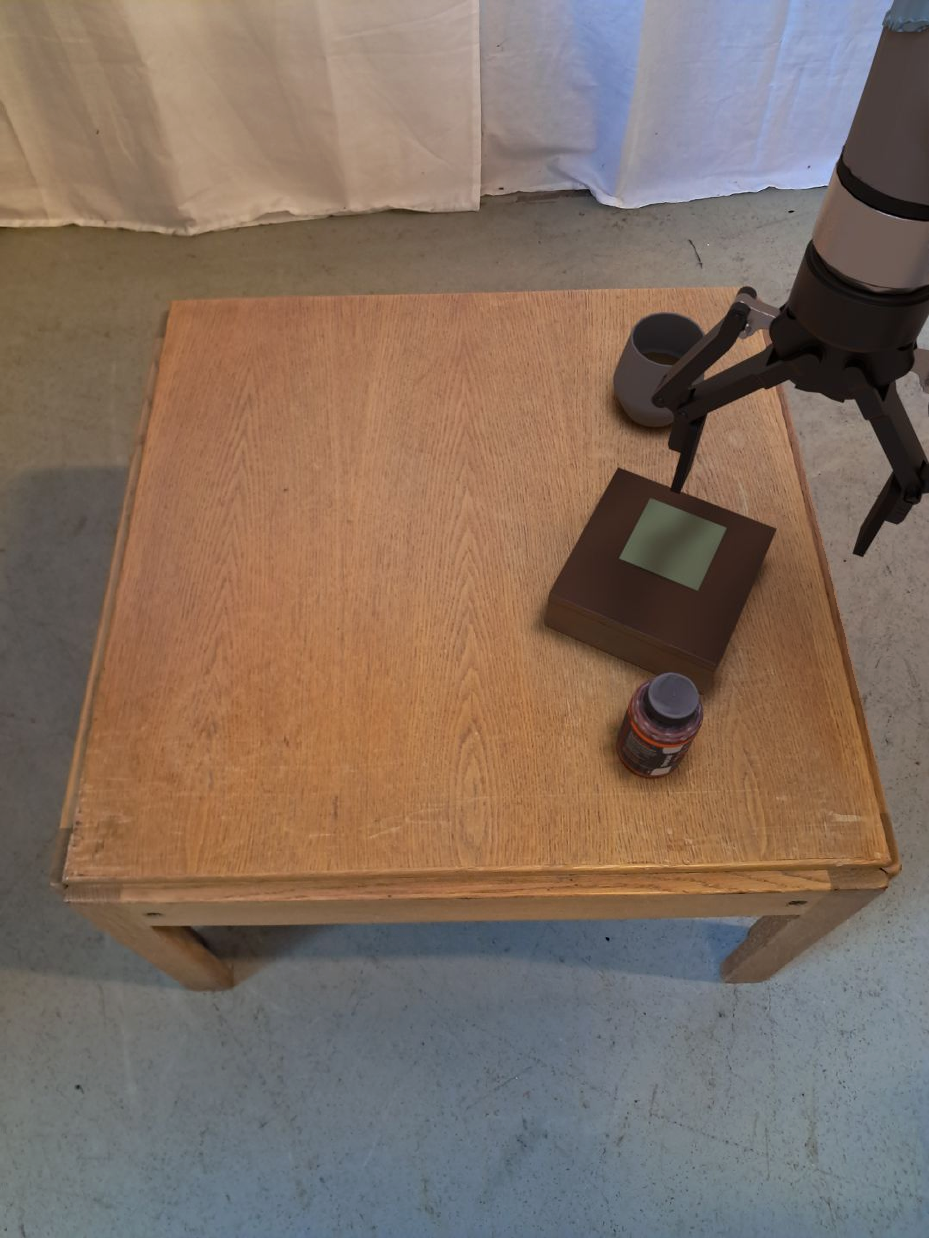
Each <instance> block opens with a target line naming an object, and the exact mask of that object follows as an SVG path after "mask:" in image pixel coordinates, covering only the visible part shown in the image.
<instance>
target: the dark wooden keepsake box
mask: <svg viewBox="0 0 929 1238" xmlns="http://www.w3.org/2000/svg"><path fill="white" fill-rule="evenodd" d="M670 489H671V486H668V485H666V484H663V483H661V482H658V481H655V480H652V479H651V478H647V477H645V476H643V475H640V474H637V473H635V472H632V471H630V470H627V469H624V468H622V467H620V466H618V467H617V468H616V470H615V472H614V473H613V475H612V477H611V479H610V480H609V482H608V484H607V486H606V488H605V490H604V492H603V494H602V495H601V497H600V499H599V500H598V502H597V504H596V506H595V508H594V510H593V512H592V514H591V515H590V517H589V519H588V521H587V523H586V525H585V526H584V528H583V530H582V532H581V534H580V535H579V538H577V541H576V542H575V544H574V546H573V548H572V550H571V551H570V554H569V556H568V557H567V559H566V561H565V563H564V565H563V567H562V568H561V570H560V571H559V574H558V576H557V577H556V579H555V581H554V583H553V584H552V586H551V589H550V590H549V592H548V596H547V604H546V611H545V619H544V626H545V627H548V628H550V629H553V630H555V631H557V632H559V633H562V634H564V635H566V636H568V637H571V638H573V639H576V640H577V641H580V642H582V643H584V644H587V645H589V646H591V647H594V648H596V649H598V650H601V651H603V652H604V653H607V654H609V655H611V656H614V657H615V658H619V659H621V660H623V661H625V662H628V663H630V664H632V665H634V666H637V667H639V668H642V669H643V670H646V671H648V672H650V673H652V674H655V675H657V676H659V675H661V674H664V673H678V674H681V675H683V676H685V677H687V678H689V679H690V680H691V681H692V682H693V683H694V685H695V686H696V688H697V690H698V693H699V695H705V693H706V691H707V689H708V687H709V685H710V683H711V682H712V680H713V678H714V676H715V674H716V672H717V670H718V668H719V667H720V665H721V662H722V659H723V657H724V655H725V652H726V650H727V648H728V645H729V643H730V641H731V638H732V636H733V633H734V632H735V629H736V627H737V624H738V621H739V620H740V617H741V615H742V612H743V610H744V607H745V606H746V603H747V601H748V598H749V596H750V594H751V592H752V589H753V587H754V585H755V582H756V580H757V577H758V575H759V573H760V570H761V568H762V565H763V563H764V561H765V558H766V556H767V554H768V551H769V549H770V547H771V544H772V542H773V540H774V537H775V535H776V532H777V530H778V528H776V527H774V526H771V525H769V524H766V523H763V522H761V521H758V520H756V519H754V518H751V517H749V516H745V515H743V514H741V513H738V512H735V511H732V510H729V509H727V508H725V507H722V506H720V505H717V504H714V503H712V502H710V501H707V500H705V499H701V498H699V497H696V496H694V495H691V494H689V493H686V492H684V491H681V492H680V494H677V493H674V492H671V491H670Z"/></svg>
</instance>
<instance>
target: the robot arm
mask: <svg viewBox="0 0 929 1238" xmlns="http://www.w3.org/2000/svg"><path fill="white" fill-rule="evenodd" d="M881 26H882V30H881V33H880V36H879V39H878V43H877V45H876V49H875V53H874V56H873V59H872V62H871V65H870V69H869V72H868V75H867V78H866V81H865V83H864V87H863V90H862V92H861V96H860V98H859V101H858V104H857V108H856V110H855V113H854V117H853V119H852V123H851V126H850V128H849V131H848V134H847V137H846V140H845V143H844V144H843V145H842V147H841V152H840V155H839V158H838V159H837V161H836V162H835V164H834V167H833V170H832V172H831V176H830V178H829V182H828V184H827V187H826V190H825V193H824V196H823V199H822V202H821V204H820V207H819V210H818V213H817V216H816V218H815V220H814V221H815V222H814V224H813V228H812V232H811V239H810V240H809V241H808V243H807V245H806V247H805V250H804V253H803V256H802V258H801V262H800V263H799V267H798V270H797V273H796V276H795V279H794V281H793V284H792V288H791V290H790V293H789V296H788V298H787V300H786V302H785V303H784V304H782V305H781V306H779V307H777V306H776V307H775V306H773V305H771V304H768V303H766V302H763V301H760V300H758V299H757V298H758V294H757V291H756V289H755V288H753V287H752V286H748V285H746V286H742V287H740V288H739V289H738V290H737V293H736V294H735V296H734V299H733V300H732V302H731V304H730V307H729V308H728V310H727V312H726V315H725V316H723V317H722V319H720V320H719V321H718V322H717V324H715V325H714V326H713V327H712V328H711V329H710V330H709V331H708V332H707V333H705V336H704V337H703V338H702V339H701V340H700V341H699V342H698V343H696V344H695V345H694V346H693V347H692V348H691V349H690V350H689V351H688V352H687V353H686V354H685V355H684V356H683V357H682V358H681V359H680V360H679V361H678V362H677V363H676V364H674V365H673V366H672V367H671V368H670V369H669V370H668V371H667V372H666V373H665V374H664V375H663V377H662V379H661V381H660V383H659V384H658V386H657V388H656V390H655V392H654V394H653V396H652V398H651V402H652V404H653V405H654V406H655V407H657V408H665V407H666V408H668V409H669V410H670V411H671V412H672V413H673V415H674V421H673V422H672V426H671V429H670V432H669V437H668V440H667V448H668V450H670V451H672V452H676V453H678V454H679V457H678V461H677V465H676V468H675V471H674V475H673V479H672V482H671V485H670V487H671V489H670V491H671V492H674V493H677V494H680V492H682V490H683V488H684V485H685V484H686V481H687V479H688V477H689V475H690V472H691V471H692V467H693V464H694V461H695V460H694V459H695V458H696V453H697V451H698V447H699V445H700V441H701V438H702V434H703V431H704V428H705V424H706V422H707V418H708V415H709V413H711V412H714V411H716V410H718V409H720V408H723V407H724V406H727V405H729V404H731V403H733V402H735V401H738V400H740V399H742V398H744V397H746V396H749V395H751V394H753V393H755V392H757V391H759V390H762V389H764V390H766V391H767V390H771V389H772V388H774V387H777V386H779V385H781V384H783V383H785V382H788V381H789V382H791V383H792V384H793V385H794V389H796V390H799V391H802V392H805V393H814V394H820V395H822V396H824V397H825V398H827V399H830V400H832V401H835V402H837V403H840V404H844V403H845V401H852V400H854V401H855V403H856V405H857V407H858V409H859V412H860V413H861V415H862V418H863V419H864V420H865V421H868V422H869V423H870V425H871V427H872V430H873V432H874V434H875V436H876V438H877V440H878V442H879V445H880V446H881V448H882V450H883V453H884V454H885V457H886V459H887V461H888V463H889V466H890V467H891V469H892V471H891V473H890V475H889V477H888V478H887V480H886V481H885V484H884V485H883V487H882V489H881V490H880V492H879V494H878V495H877V497H876V499H875V501H874V503H873V504H872V506H871V508H870V509H869V511H868V513H867V515H866V517H865V518H864V519H863V522H862V524H861V526H860V528H859V531H858V534H857V538H856V541H855V544H854V547H853V550H852V553H851V554H852V555H853V556H854V555H855V556H857V557H861V558H864V556H865V555H866V553H867V552H868V550H869V548H870V547H871V545H872V543H873V542H874V539H875V538H876V537H877V535H878V534H879V532H880V530H881V528H882V526H883V525H884V523H885V522H887V523H891V524H893V525H896V526H898V525H901V523H903V522H904V521H905V520H906V518H907V516H908V515H909V513H910V511H911V510H912V508H913V507H914V506H916V505H918V504H920V503H921V501H922V498H923V495H925V494H929V460H928V457H927V455H926V452H925V451H924V449H923V446H922V444H921V442H920V440H919V437H918V435H917V433H916V431H915V428H914V426H913V424H912V421H911V420H910V418H909V415H908V413H907V410H906V407H905V406H904V404H903V401H902V399H901V397H900V395H899V393H898V391H897V390H898V389H897V380H900V379H902V378H903V377H905V376H906V375H908V374H909V373H910V372H912V373H914V374H916V375H917V376H918V378H919V379H918V381H919V383H918V384H919V386H920V387H921V388H922V391H923V393H924V394H926V395H927V394H929V349H925V348H919V346H918V338H919V335H920V334H921V332H922V330H923V328H924V326H925V324H926V321H928V318H929V0H893V1H892V4H891V7H890V8H889V9H888V10H887V11H886V12H885V14H884V17H883V20H882V23H881ZM760 330H768V337H769V339H770V341H771V343H769V344H768V345H767V346H765V348H764V349H763V350H761V351H759V352H758V353H756V354H754V355H752V356H749V357H748V358H745V359H744V360H742V361H739V362H737V363H736V364H734V365H732V366H729V367H728V368H726V369H724V370H722V371H720V372H718V373H716V374H714V375H712V376H709V377H707V378H706V379H704V381H702V382H700V383H698V384H696V385H692V383H693V382H694V381H695V380H696V379H698V378H699V377H700V376H701V375H702V374H703V373H704V372H705V373H706V372H707V370H709V369H710V368H711V367H712V366H713V365H715V363H716V362H718V361H719V360H720V359H721V358H722V357H723V356H724V355H726V354H727V353H728V352H729V351H730V350H731V348H732V347H733V346H734V345H735V343H736V342H737V340H738V338H739V339H740V340H746V339H747V338H749V337H751V336H753V335H755V333H756V332H757V331H760ZM927 413H928V416H929V403H928V404H927Z"/></svg>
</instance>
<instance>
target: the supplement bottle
mask: <svg viewBox="0 0 929 1238" xmlns="http://www.w3.org/2000/svg"><path fill="white" fill-rule="evenodd" d="M703 721H704V706H703V701H702V700H701V698H700V693H698V690H697V688H696V686H695V685H694V683H693V682H692V681H691V680H690V679H689V678H687V677H685V676H683V675H681V674H678V673H664V674H661V675H657V676H656V677H655V676H654V677H652V678H649V679H647V680H644V682H642V683H641V684H640V685H639V686H638V687H637V688H636V689H635V690H634V692H633V693H632V695H631V698H630V701H629V703H628V706H627V708H626V711H625V714H624V717H623V720H622V722H621V725H620V728H619V730H618V734H617V739H616V746H617V752H618V756H619V758H620V759H621V761H622V762H623V764H624V765H625V766H626V767H627V768H628V769H629V770H630V771H632V772H633V773H635V774H637V775H639V776H641V777H646V778H661V777H664V776H667V775H669V774H671V773H672V772H674V771H675V770H676V769H677V767H678V766H679V765H680V764H681V762H682V761H683V759H684V758H685V756H686V755H687V753H688V751H689V749H690V747H691V746H692V744H693V742H694V740H695V738H696V736H697V735H698V733H699V731H700V729H701V727H702V725H703Z"/></svg>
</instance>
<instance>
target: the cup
mask: <svg viewBox="0 0 929 1238" xmlns="http://www.w3.org/2000/svg"><path fill="white" fill-rule="evenodd" d="M705 335H706V333H705V331H704V330H703V329H702V327H701V326H700V325H699V323H697V322H696V321H695V320H693V319H692V318H691V317H688V316H685V315H683V314H680V313H678V312H669V311H661V312H654V313H650V314H648V315H646V316H643V317H642V318H640V319H639V320H638V321H637V322H636V323H635V324H634V325H633V326H632V328H631V331H630V334H629V336H628V338H627V340H626V343H625V345H624V347H623V350H622V352H621V354H620V357H619V359H618V361H617V364H616V366H615V370H614V373H613V375H612V381H613V390H614V394H615V396H616V399H617V400H618V401H619V403H620V405H621V407H622V408H623V410H624V412H625V413H626V415H627V417H628V418H630V419H631V420H632V421H634V422H635V423H637V424H640V425H641V426H643V427H651V428H660V427H661V428H662V427H666V426H668V425H671V424H673V421H674V415H673V413H672V412H671V411H670V410H669V409H668V408H666V407H665V408H657V407H655V406H654V405H653V404H652V402H651V398H652V396H653V394H654V392H655V390H656V388H657V386H658V384H659V383H660V381H661V379H662V377H663V375H664V374H665V373H666V372H667V371H668V370H669V369H670V368H671V367H672V366H673V365H674V364H676V363H677V362H678V361H679V360H680V359H681V358H682V357H683V356H684V355H685V354H686V353H687V352H688V351H689V350H690V349H691V348H692V347H693V346H694V345H695V344H696V343H698V342H699V341H700V340H701V339H702V338H703V337H704V336H705ZM705 373H706V371H705V372H704V373H703V374H702V375H701V376H700V377H699V378H698V379H696V380H695V381H694V382H693V383H692V385H696V384H698V383H700V382H702V381H704V380H705Z"/></svg>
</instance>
